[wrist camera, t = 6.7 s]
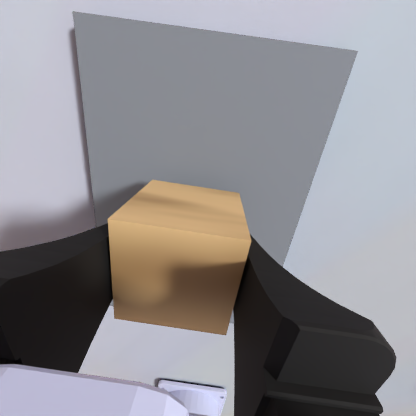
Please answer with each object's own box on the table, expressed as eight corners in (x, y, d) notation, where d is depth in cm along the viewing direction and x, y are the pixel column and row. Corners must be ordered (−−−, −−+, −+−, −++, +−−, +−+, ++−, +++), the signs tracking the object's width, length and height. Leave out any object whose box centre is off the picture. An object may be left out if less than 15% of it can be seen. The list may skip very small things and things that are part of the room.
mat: (259, 317, 19) (261, 327, 18) (110, 295, 19) (104, 304, 18) (346, 56, 11) (357, 51, 10) (85, 20, 11) (72, 11, 10)
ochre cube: (224, 262, 14) (225, 335, 9) (150, 251, 14) (114, 318, 9) (239, 192, 12) (251, 240, 7) (152, 179, 12) (107, 218, 7)
